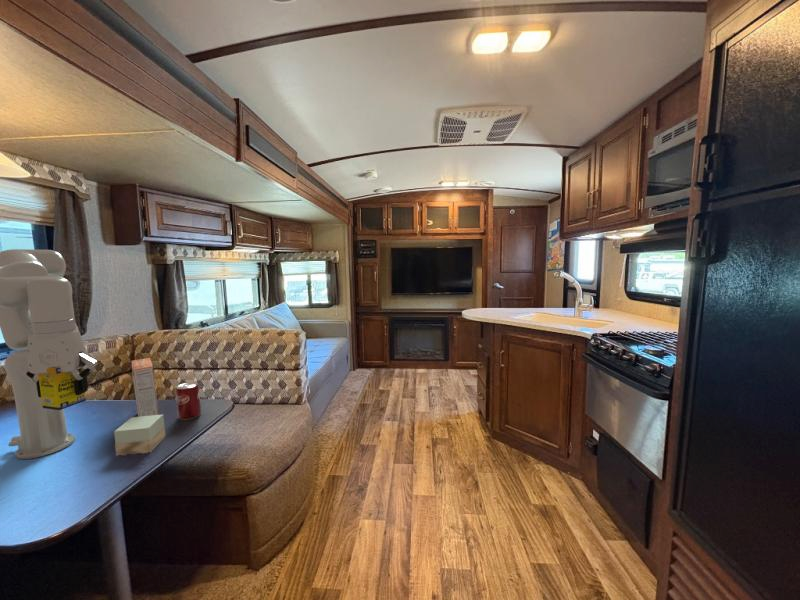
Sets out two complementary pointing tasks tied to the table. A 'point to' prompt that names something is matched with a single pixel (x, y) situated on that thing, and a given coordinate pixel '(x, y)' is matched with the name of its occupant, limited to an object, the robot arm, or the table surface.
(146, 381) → the cracker box
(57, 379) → the supplement box
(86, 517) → the table surface
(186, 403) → the soda can
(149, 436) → the tower top block
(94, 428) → the table surface
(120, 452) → the tower base block
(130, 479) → the table surface
